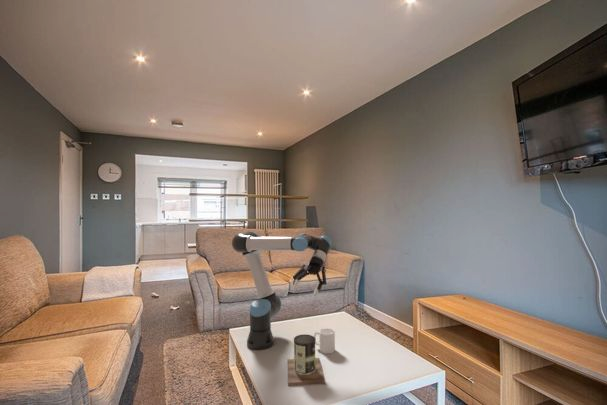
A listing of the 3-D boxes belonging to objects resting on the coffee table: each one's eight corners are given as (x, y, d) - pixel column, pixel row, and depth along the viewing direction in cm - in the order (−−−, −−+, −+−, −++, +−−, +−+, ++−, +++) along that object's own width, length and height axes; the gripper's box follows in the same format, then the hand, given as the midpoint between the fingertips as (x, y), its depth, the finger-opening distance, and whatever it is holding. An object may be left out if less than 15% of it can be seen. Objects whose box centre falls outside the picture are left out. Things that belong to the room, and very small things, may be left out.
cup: (331, 355, 152) (331, 335, 153) (310, 350, 158) (310, 331, 158) (337, 348, 160) (336, 329, 160) (316, 344, 165) (316, 326, 165)
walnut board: (287, 361, 146) (287, 359, 146) (319, 360, 148) (319, 357, 148) (288, 385, 126) (288, 382, 127) (324, 383, 128) (324, 380, 128)
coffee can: (315, 363, 142) (315, 334, 143) (316, 375, 132) (315, 343, 132) (294, 363, 142) (294, 334, 143) (293, 375, 132) (293, 343, 132)
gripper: (339, 265, 160) (327, 300, 147) (301, 261, 174) (287, 293, 161) (335, 257, 156) (321, 292, 143) (296, 254, 170) (281, 285, 157)
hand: (303, 293), depth 152 cm, fingers open, 13 cm apart
